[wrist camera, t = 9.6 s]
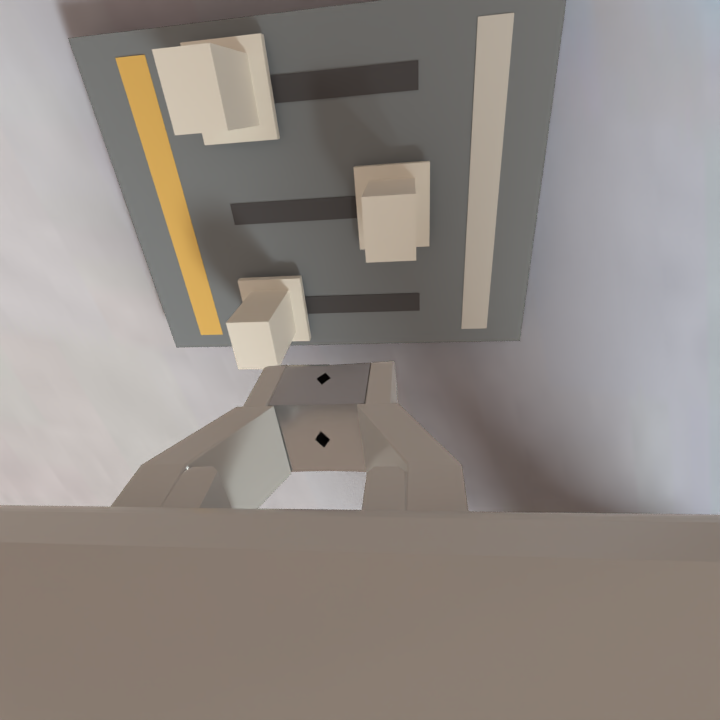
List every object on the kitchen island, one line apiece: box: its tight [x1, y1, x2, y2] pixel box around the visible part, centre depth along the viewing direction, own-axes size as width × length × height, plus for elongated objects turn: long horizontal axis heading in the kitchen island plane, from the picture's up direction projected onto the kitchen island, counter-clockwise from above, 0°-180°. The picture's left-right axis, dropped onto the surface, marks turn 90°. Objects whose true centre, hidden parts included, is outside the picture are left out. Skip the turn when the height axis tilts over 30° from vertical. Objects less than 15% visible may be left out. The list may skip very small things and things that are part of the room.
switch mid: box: [353, 161, 430, 263], centre depth 21 cm, size 4×4×5 cm
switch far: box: [226, 276, 311, 369], centre depth 26 cm, size 4×4×5 cm
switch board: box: [68, 0, 566, 347], centre depth 25 cm, size 24×18×2 cm
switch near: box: [152, 33, 280, 145], centre depth 19 cm, size 4×4×5 cm
